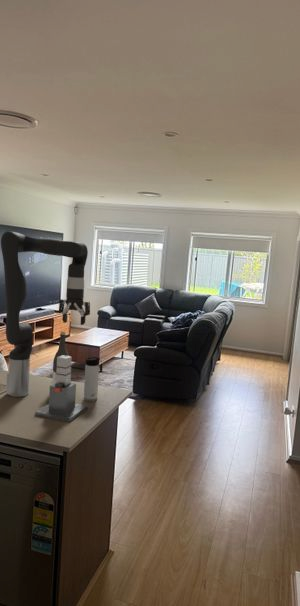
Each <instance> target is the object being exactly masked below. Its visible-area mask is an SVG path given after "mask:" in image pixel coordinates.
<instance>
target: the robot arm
mask: <svg viewBox="0 0 300 606" xmlns="http://www.w3.org/2000/svg"><path fill="white" fill-rule="evenodd" d="M0 247H1V253H2V260H3V261H2V262H3V270H4V271H3V272H4V288H5V289H4V290H5V291H4V292H5V303H6V304H5V306H6V315H5V316H6V317H5V319H6V320H5V337H6V341H7V343H8V344H10V345H12V346H15V347H14V348H13V349H12V350H10V351H9V352H8V353H9V355H8V356H9V357H8V373H6V386H5V387H6V389H5V390H6V391H5V392H6V395H8V396H10V397H14V398H17V397H18V398H19V397H25V396H28V395H29V393H30V365H31V364H30V363H31V362H30V361H31V353H32V351H33V340H34V331H33V328H32V326H31V325H30V324H29V323H27V322H26V323H24V322H23V323H20V315H21V314H20V313H21V310H22V309H23V305H24V303H25V301H26V298H27V282H26V281H27V280H26V277H25V275H24V273H23V270H22V269H21V266H20V263H19V253H29V252H33V253H40V254H43V255H44V254H45V255H50V256H58V257H62V256H63V257H66V258H71V259H72V261H71V263H70V264H69V265H68V269H67V279H66V280H67V281H66V296H65V297H66V299H64V298H62V299H59V305H58V313H60V314H62V322H63V323H68V312H70V311H77V312H78V313H80V314H79V315H80V325H81V326H84V325H85V324H86V317H87V316H90V315H91V302H90V301H84V297H85V295H84V293H85V266H86V264H87V259H88V256H89V254H88V250H89V249H88V247H87V245H86V244H85V243H84V242H80V241H69V240H62V239H56V238H54V239H53V238H36V237H33V236H32V237H31V236H28V235H25V234H22V233H20V232H17V231H12V230H10V231H9V230H8V231H5V232H4V233H3V234H2V235H1V238H0ZM65 305H66V306H65ZM83 306H84V307H83Z"/></svg>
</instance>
